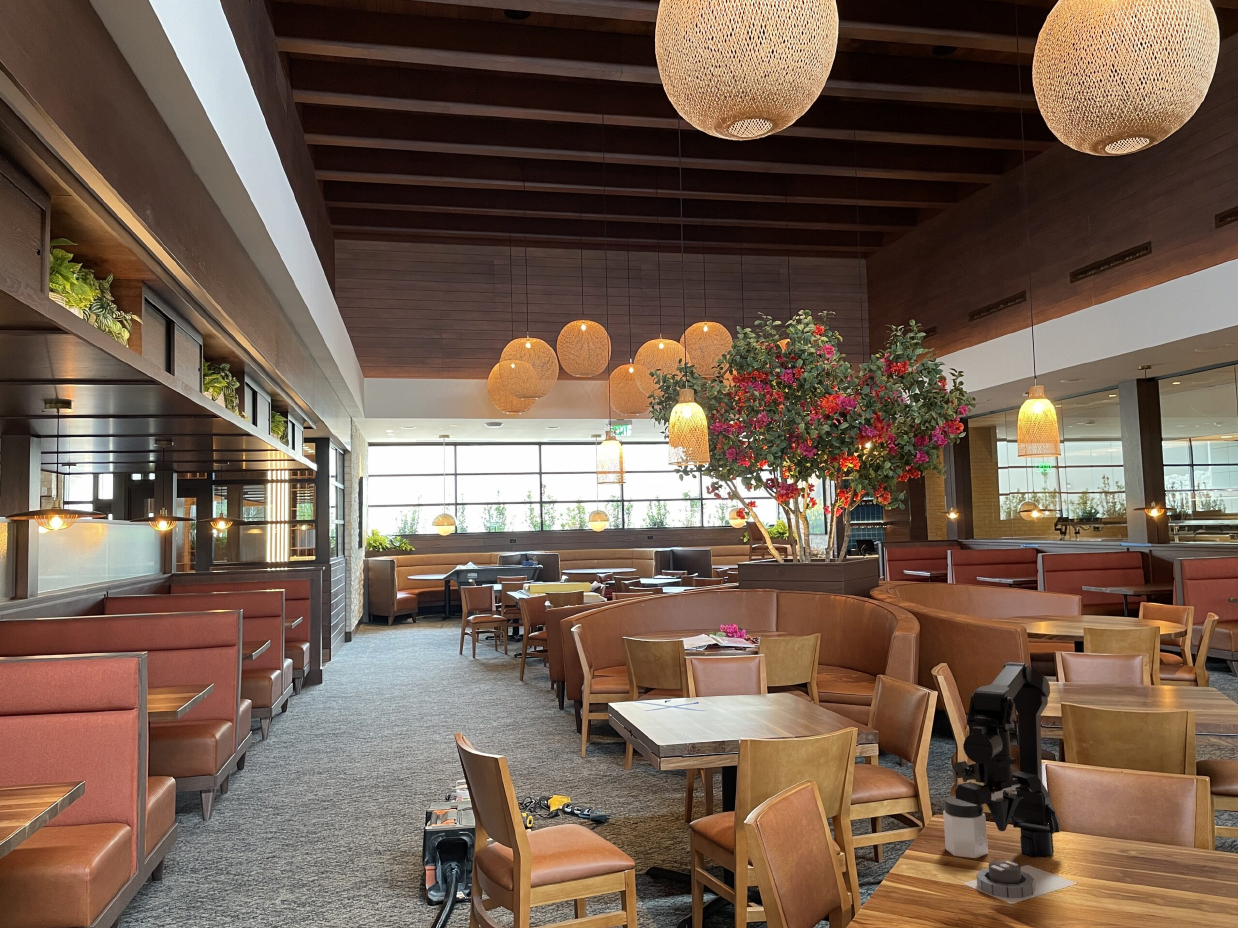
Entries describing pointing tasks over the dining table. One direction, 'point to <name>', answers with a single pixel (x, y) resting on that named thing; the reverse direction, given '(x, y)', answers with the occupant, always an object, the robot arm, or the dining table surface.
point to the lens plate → (1020, 885)
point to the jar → (964, 828)
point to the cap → (1004, 872)
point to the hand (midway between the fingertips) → (1001, 830)
